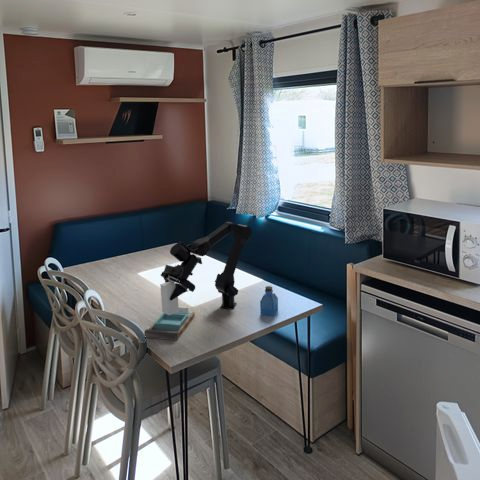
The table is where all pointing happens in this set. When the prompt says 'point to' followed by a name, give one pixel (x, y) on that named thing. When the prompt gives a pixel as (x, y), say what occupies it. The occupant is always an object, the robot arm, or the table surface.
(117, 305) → the table surface
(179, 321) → the tray
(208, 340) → the table surface
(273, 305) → the perfume bottle
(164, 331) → the dock
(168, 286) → the light grey block
